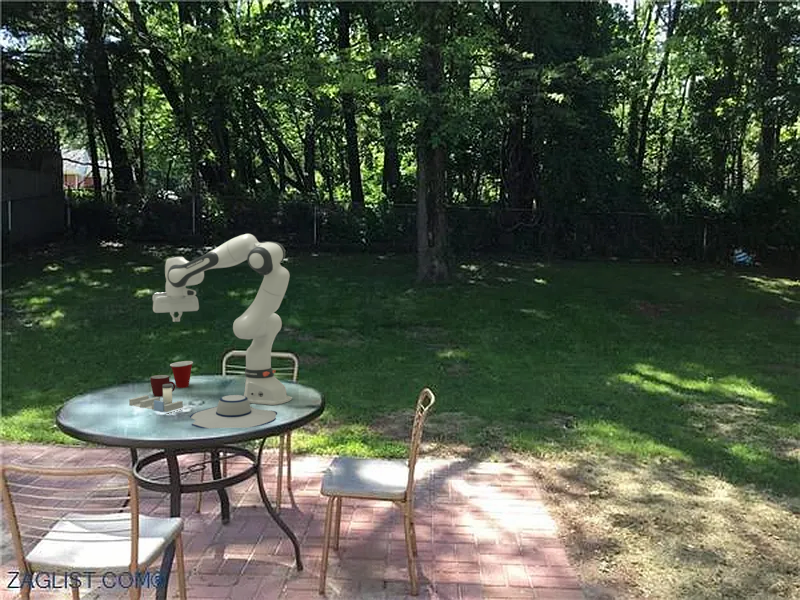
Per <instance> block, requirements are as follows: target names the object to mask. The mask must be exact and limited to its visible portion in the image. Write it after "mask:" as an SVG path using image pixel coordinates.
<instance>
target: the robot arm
mask: <svg viewBox="0 0 800 600" xmlns="http://www.w3.org/2000/svg"><path fill="white" fill-rule="evenodd" d="M285 258H286V250H285V247H284V246H283V245H282V244H281V243H279V242H276V241H268V240H267V241H265V240H263V241H262V242H259V241H258V239H257V237H256V236H255V235H254V234H251V233H245V234H240V235H238V236H235V237H233V238H231V239H229V240H227V241H225V242H224V243H222V244H221V245H219V246H217V247H216V248H214V249H211V250H210V251H208V252H207V253H206V254H204V255H201V256H199V257H197V258H195V259H193V260H191V261H189V260H187V259H186V258H185V257H183V256H179V255H177V256H171V257H168V258H167V259H166V261H165V265H164V274H165V281H166V282H165V291H164V292H163V291H162V292H161V291H160V292H155V293H153V294H152V300H151V301H152V311H153V312H154V313H156V314H160V313H165V314H166V313H169V314H170V316H171V318H172V322H174V323H176V322H177V323H178V322H181V317H182V315H183V312H198V310H199V309H200V305H199V299H198V296H196V295H197V291H196V290H194V289H190V288H189V286H190V287H191V286H195V285H198V284H201V283H203V281H204V279H205V271H208V270H213V269H223V268H230V267H234V266H237V265H240V264H241V263H243V262H245V261H247V263H248V266H249V267H250V268H251V269H252V270H253V271H255V272H256V273H258V274H259V276H263V279H262V282H261V284H260V286H259V288H258V291H257V294H256V296H255V298H254V300H253V301H252V303H251V304H250V305H249V306H248V307H247V308H246V310H245V311H244V312H243V313H242V314H241V315H240V316H239V317H237V318H236V319H235V320H233V321H234V322H233V325H232V330H233V331H232V332H233V333H234V335H235V337H237V338H238V339H242V340H252V341H251V344H250V346H248V348H247V349H246V351H245V369H244V376H245V385H244V386H245V387H244V392H243V396H246V397H247V398H248V400H249V403H250V404H256V405H258V404H259V405H270V406H274V405H275V406H276V405H281V404H285V403H287V402H290V401H291V400H292V397H293V396H290V395H287V389H286V386H285V384H283V383H282V382H281V381H280V380H279V379H278V378H276V376H275V373H276V371H277V370H276V369H274V370H273V368H272V366H271V362H272V348H273V343H274V341H275V340H276V336H277V335H278V333H279V332H280V331H281V329H282V326H283V322H282V318H281V317H280V316H279V315H278V313H275V312H277V310H278V309H279V308H280V306H281V304H282V301H283V299H284V297H285V294H286V291H287V289H288V285H289V281H290V272H289V270H288V269H287V268H285V266H282V265H281V263H282V262H283V261H284V260H285ZM187 287H188V288H187ZM175 313H178V316H177V317H175Z"/></svg>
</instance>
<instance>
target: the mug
mask: <svg viewBox="0 0 800 600" xmlns="http://www.w3.org/2000/svg"><path fill="white" fill-rule="evenodd" d="M163 384H172V393H173V392H174V391H175V390H176V383H175V382H174V381H172V380H171V381H170V375H166V374H158V375H152V376H150V386H151V387H150V388H151V391H152V395H153V397H160V398H163V386H162V385H163Z"/></svg>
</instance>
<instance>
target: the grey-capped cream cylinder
mask: <svg viewBox="0 0 800 600" xmlns="http://www.w3.org/2000/svg"><path fill="white" fill-rule="evenodd" d="M162 386H163V396H162V400H163V402H164V405H167V404H170V403H173V392H172V389H173V385H172V384H163V385H162Z"/></svg>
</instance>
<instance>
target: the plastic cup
mask: <svg viewBox="0 0 800 600" xmlns="http://www.w3.org/2000/svg"><path fill="white" fill-rule="evenodd" d="M193 364H194V362H193V361H192V360H184V361H177V362H173V363H170V364H169V366H170V368H171V369H172V373H173V374H172V375H173V379H174V381H175V382H174V384H175V388H178V389H186V388H189V387H190V380H191V375H192V374H191V373H192V367H193Z"/></svg>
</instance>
